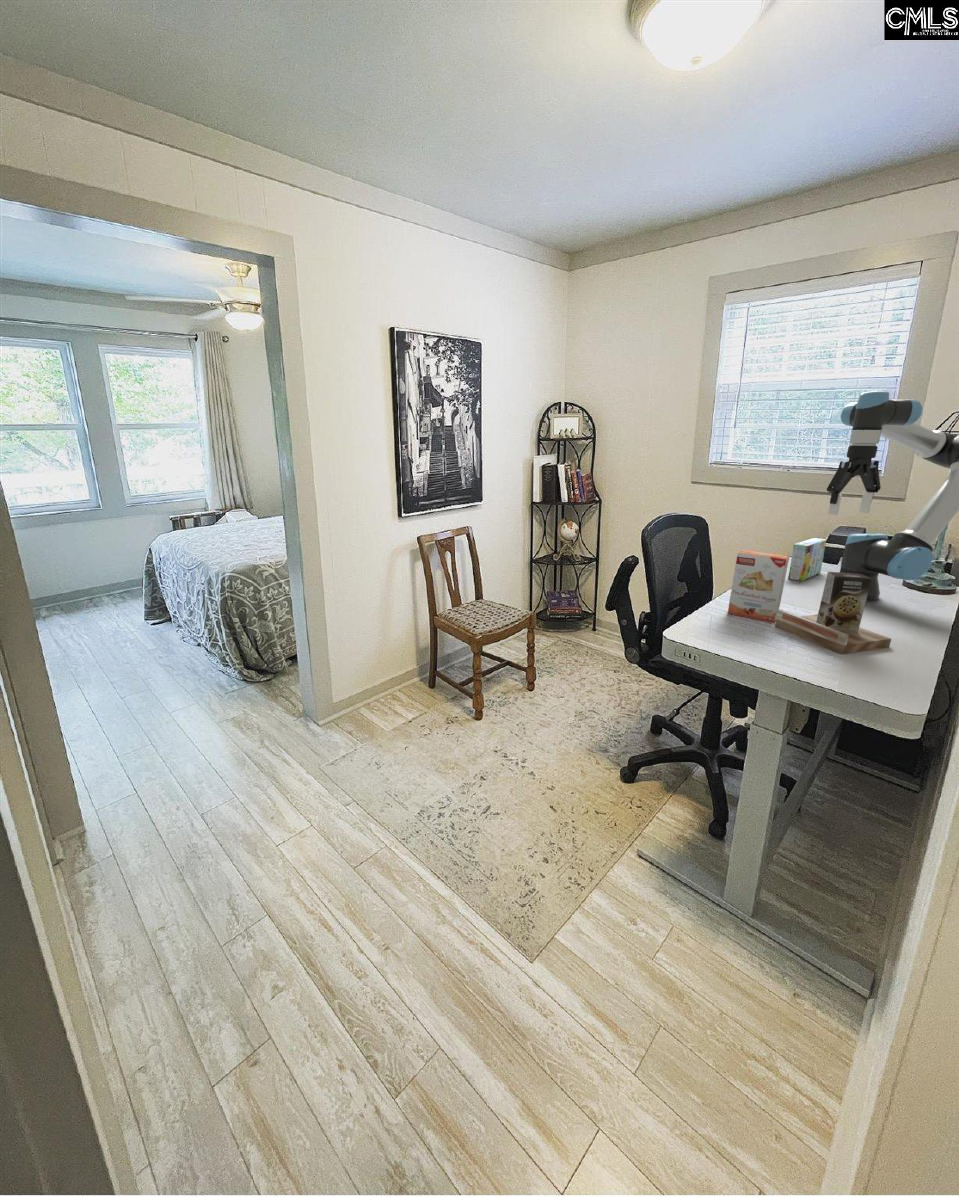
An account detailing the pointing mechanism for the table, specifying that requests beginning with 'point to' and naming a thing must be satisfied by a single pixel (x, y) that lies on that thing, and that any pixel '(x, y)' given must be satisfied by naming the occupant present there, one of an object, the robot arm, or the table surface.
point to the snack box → (807, 559)
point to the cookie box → (843, 601)
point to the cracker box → (758, 585)
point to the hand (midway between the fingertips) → (848, 513)
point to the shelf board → (830, 634)
